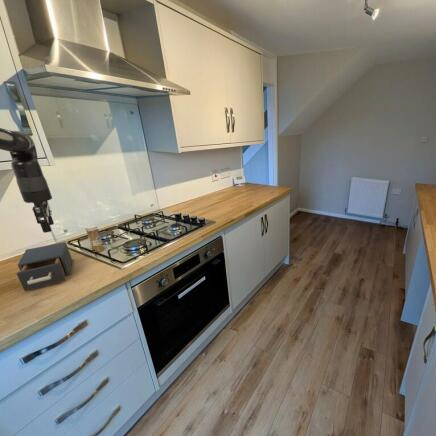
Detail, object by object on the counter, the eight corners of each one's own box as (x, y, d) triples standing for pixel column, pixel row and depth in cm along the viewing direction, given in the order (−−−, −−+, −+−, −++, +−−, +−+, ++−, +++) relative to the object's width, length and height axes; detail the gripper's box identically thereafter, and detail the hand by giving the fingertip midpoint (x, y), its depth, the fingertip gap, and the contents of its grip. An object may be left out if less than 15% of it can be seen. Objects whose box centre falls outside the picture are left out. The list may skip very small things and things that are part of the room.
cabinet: (69, 274, 100) (62, 255, 97) (27, 285, 93) (17, 264, 90) (72, 260, 111) (65, 241, 108) (34, 268, 104) (26, 249, 101)
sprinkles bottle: (100, 252, 118) (92, 227, 114) (90, 252, 118) (82, 228, 113) (105, 248, 123) (98, 224, 118) (96, 248, 122) (88, 224, 117)
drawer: (64, 286, 92) (57, 269, 89) (22, 297, 85) (13, 279, 83) (68, 265, 105) (62, 250, 102) (32, 274, 99) (25, 258, 96)
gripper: (23, 185, 91) (38, 224, 96) (15, 193, 80) (32, 237, 86) (50, 183, 95) (63, 220, 101) (45, 190, 85) (60, 232, 91)
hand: (49, 228), depth 94 cm, fingers open, 8 cm apart
